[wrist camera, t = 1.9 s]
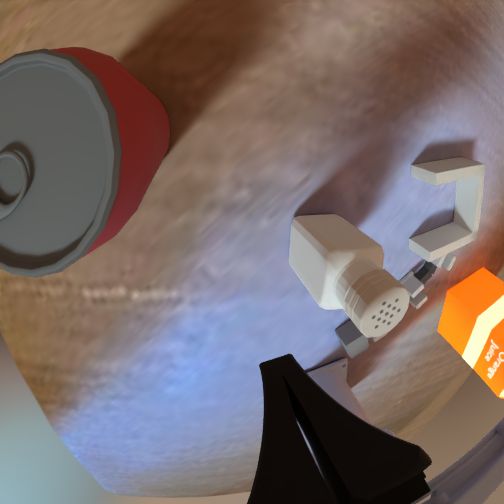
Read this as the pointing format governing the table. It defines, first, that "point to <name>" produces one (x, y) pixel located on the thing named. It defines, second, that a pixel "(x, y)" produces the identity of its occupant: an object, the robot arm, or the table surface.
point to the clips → (421, 284)
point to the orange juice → (477, 325)
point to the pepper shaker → (346, 272)
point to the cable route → (356, 340)
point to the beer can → (71, 155)
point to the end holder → (466, 205)
